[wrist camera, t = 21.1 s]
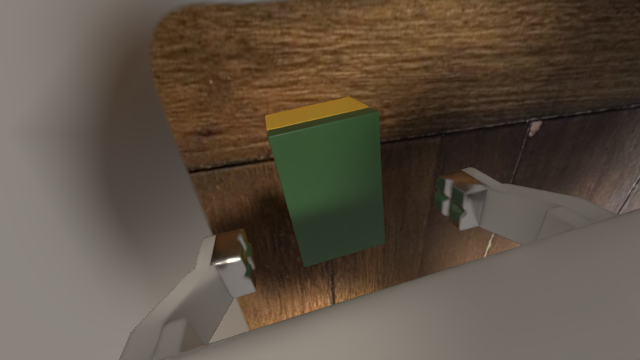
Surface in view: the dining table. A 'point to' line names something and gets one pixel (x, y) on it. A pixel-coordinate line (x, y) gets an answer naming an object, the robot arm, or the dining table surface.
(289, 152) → the sponge
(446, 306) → the robot arm
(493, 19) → the dining table surface
